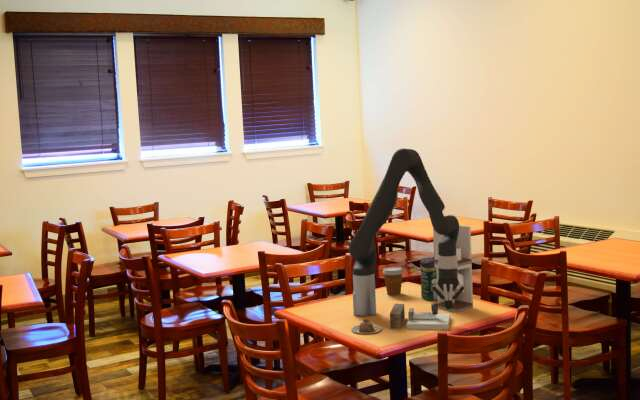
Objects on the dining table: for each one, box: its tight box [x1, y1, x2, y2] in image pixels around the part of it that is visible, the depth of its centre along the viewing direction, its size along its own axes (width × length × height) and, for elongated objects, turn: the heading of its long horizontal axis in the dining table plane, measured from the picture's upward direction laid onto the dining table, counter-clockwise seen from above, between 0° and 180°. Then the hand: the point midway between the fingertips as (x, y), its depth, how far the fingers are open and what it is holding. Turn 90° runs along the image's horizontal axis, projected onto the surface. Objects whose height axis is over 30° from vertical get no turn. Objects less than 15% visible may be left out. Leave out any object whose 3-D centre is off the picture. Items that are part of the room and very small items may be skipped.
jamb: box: [389, 303, 406, 330], centre depth 313 cm, size 4×16×6 cm, turn 168°
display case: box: [432, 224, 474, 313], centre depth 331 cm, size 11×11×35 cm
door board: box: [406, 307, 451, 330], centre depth 310 cm, size 16×16×6 cm
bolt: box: [412, 302, 439, 319], centre depth 310 cm, size 11×3×6 cm, turn 78°
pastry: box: [351, 318, 383, 335], centre depth 305 cm, size 12×12×5 cm
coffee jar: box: [419, 256, 438, 302], centre depth 349 cm, size 10×8×19 cm
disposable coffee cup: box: [382, 266, 404, 297], centre depth 362 cm, size 10×10×12 cm
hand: (449, 309), depth 308 cm, fingers closed
